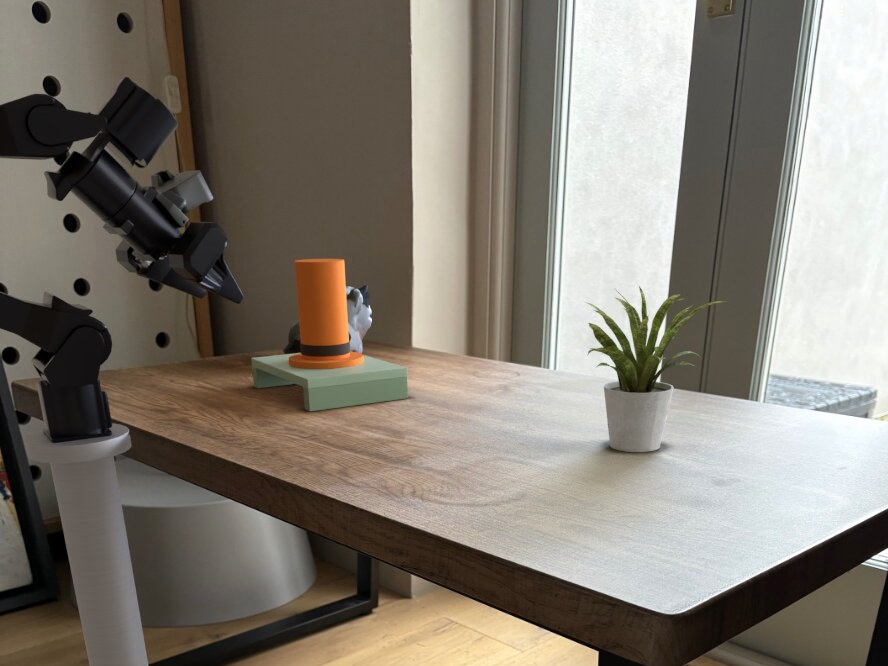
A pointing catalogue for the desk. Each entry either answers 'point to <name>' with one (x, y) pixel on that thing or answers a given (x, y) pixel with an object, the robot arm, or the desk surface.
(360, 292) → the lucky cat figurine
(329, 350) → the hat
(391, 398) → the shelf
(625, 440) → the house plant
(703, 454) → the desk surface
